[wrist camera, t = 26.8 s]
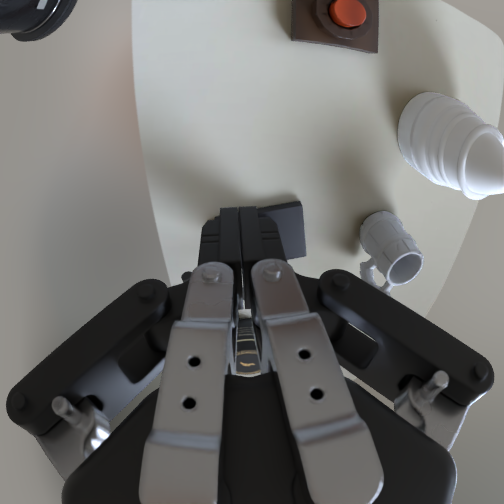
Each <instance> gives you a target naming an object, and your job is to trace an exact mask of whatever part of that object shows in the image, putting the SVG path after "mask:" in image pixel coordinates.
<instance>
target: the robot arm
mask: <svg viewBox="0 0 504 504" xmlns="http://www.w3.org/2000/svg"><path fill="white" fill-rule="evenodd" d="M61 2H62V0H0V34H4V33H31V32H34V31H36V30H38V29H39V28H41V27H42V26H44V25H45V24H46V23H47V22H48V21H49V20H50V19H51V18H52V16H53V15H54V14H55V13H56V11H57V10H58V8H59V6H60V4H61ZM239 226H240V238H239ZM200 242H201V243H200V250H199V258H198V267H196V268H195V269H194V270H193V272H192V274H191V277H190V279H189V280H188V281H186V282H184V283H182V284H179V285H176V286H172V287H169V288H167V286H166V285H165V283H163V282H162V281H160V280H157V279H146V280H143V281H140V282H138V283H136V284H135V285H134V286H132V287H131V288H130V289H128V290H127V291H126V292H125V293H123V294H122V295H121V296H120V297H118V298H117V299H116V300H114V301H113V302H112V303H111V304H109V305H108V306H107V307H106V308H104V309H103V310H102V311H101V312H99V313H98V314H97V315H96V316H95V317H93V318H92V319H91V320H90V321H89V322H87V323H86V324H85V325H84V326H82V327H81V328H80V329H79V330H78V331H76V332H75V333H74V334H73V335H72V336H71V337H69V338H68V339H67V340H66V341H65V342H63V343H62V344H61V345H60V346H59V347H58V348H56V349H55V350H54V351H53V352H52V353H51V354H50V355H48V357H46V358H45V359H44V360H43V361H42V362H41V363H39V364H38V365H37V366H36V367H35V368H34V369H33V370H32V371H31V372H29V373H28V374H27V375H26V376H25V377H24V378H23V379H22V380H21V381H20V382H18V383H17V384H16V385H15V386H14V387H13V388H12V389H11V391H10V392H9V394H8V397H7V401H6V409H7V413H8V416H9V418H10V419H11V420H12V421H13V422H14V423H16V424H17V425H19V426H20V427H22V428H23V429H25V430H27V431H28V432H29V433H30V434H32V435H33V436H34V437H35V438H36V440H37V441H38V443H39V444H40V446H41V447H42V449H43V451H44V452H45V454H46V455H47V457H48V458H49V460H50V461H51V463H52V464H53V466H54V467H55V468H56V470H57V471H58V473H59V474H60V475H61V477H62V478H63V479H64V481H65V484H64V487H63V490H62V504H451V503H452V498H453V494H454V490H455V486H456V480H457V470H456V465H455V462H454V460H453V458H452V456H451V454H450V453H449V451H450V449H451V447H452V445H453V443H454V441H455V439H456V437H457V434H458V433H459V430H460V428H461V426H462V424H463V421H464V419H465V417H466V414H467V412H468V410H469V407H470V405H471V404H473V403H474V402H475V401H477V400H478V399H479V398H480V397H481V396H483V395H484V394H485V393H486V392H487V391H489V390H490V389H491V387H492V385H493V383H494V372H493V368H492V366H491V364H490V363H489V361H488V360H487V359H486V358H485V357H483V356H482V355H480V354H479V353H477V352H476V351H474V350H473V349H471V348H470V347H468V346H467V345H465V344H464V343H462V342H461V341H459V340H458V339H456V338H455V337H453V336H452V335H450V334H449V333H447V332H446V331H444V330H442V329H441V328H439V327H438V326H436V325H435V324H433V323H432V322H430V321H428V320H427V319H425V318H424V317H422V316H420V315H419V314H417V313H416V312H414V311H413V310H411V309H409V308H408V307H406V306H404V305H403V304H401V303H400V302H398V301H396V300H395V299H393V298H391V297H390V296H388V295H387V294H385V293H383V292H382V291H380V290H378V289H377V288H375V287H373V286H372V285H370V284H368V283H367V282H365V281H363V280H362V279H360V278H358V277H357V276H355V275H353V274H352V273H350V272H348V271H345V270H340V269H333V270H328V271H326V272H324V273H323V274H322V275H321V276H320V279H316V278H310V277H305V276H302V275H299V274H297V273H295V272H294V270H293V268H292V267H291V265H289V264H288V263H287V262H286V258H285V254H284V251H283V247H282V243H281V240H280V236H279V233H278V229H277V225H276V223H275V222H274V221H273V220H272V219H271V218H270V217H261V218H258V213H257V208H256V206H248V207H239V224H238V209H237V207H229V208H220V220H208V221H207V222H206V223H205V225H204V226H203V227H202V233H201V241H200ZM240 248H241V252H240ZM241 262H242V268H241ZM242 275H243V288H244V301H245V309H251V315H252V330H253V335H254V340H255V345H256V350H257V355H258V360H259V365H260V371H261V375H258V376H254V377H243V376H237V375H236V354H237V323H238V320H239V316H238V310H240V309H243V291H242ZM348 323H350V324H352V325H353V326H355V327H356V328H358V329H359V330H361V331H362V332H364V333H365V334H367V335H368V336H370V337H371V338H373V339H374V340H375V341H376V342H375V341H374V340H372V339H371V338H369V337H368V336H366V335H365V334H363V333H362V332H360V331H359V330H357V329H356V328H354V327H353V326H351V325H350V324H348ZM340 365H341V366H342V367H343V368H345V369H346V370H348V371H349V372H350V373H352V374H353V375H355V376H356V377H357V378H359V379H360V380H362V381H363V382H364V383H366V384H367V385H369V386H370V387H372V388H373V389H374V390H376V391H377V392H379V393H380V394H382V395H383V396H385V397H386V398H387V399H389V400H390V401H392V402H393V403H394V411H395V412H394V411H393V410H391V409H390V408H389V407H387V406H386V405H385V404H383V403H382V402H381V401H379V400H378V399H377V398H375V397H374V396H373V395H371V394H370V393H369V392H367V391H366V390H365V389H364V388H362V387H361V386H360V385H358V384H357V383H355V382H354V381H352V380H350V379H349V378H346V377H344V376H343V373H342V370H341V368H340ZM162 370H163V372H162V377H161V382H160V387H159V388H158V389H156V390H155V391H153V392H152V393H151V394H149V395H148V396H147V397H146V398H145V399H144V400H143V401H142V402H141V403H140V404H139V405H138V406H137V407H136V408H135V409H134V410H133V411H132V412H131V413H130V414H129V415H128V416H127V417H126V419H124V420H123V422H122V423H121V424H120V425H119V426H118V427H117V428H116V429H115V430H114V431H113V432H112V433H111V434H110V423H109V422H110V421H111V420H112V419H113V418H114V417H115V416H116V415H117V414H118V413H119V412H120V411H121V410H122V409H123V408H125V406H127V405H128V403H130V402H131V401H132V400H133V399H134V398H135V397H136V396H137V395H138V394H139V393H140V392H141V391H142V390H143V389H144V388H145V387H146V386H147V385H148V384H149V383H150V382H151V381H152V380H153V379H154V378H155V377H156V376H157V375H158V374H159V373H160V372H161V371H162Z"/></svg>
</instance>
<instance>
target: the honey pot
mask: <svg viewBox="0 0 504 504" xmlns="http://www.w3.org/2000/svg"><path fill="white" fill-rule="evenodd" d="M398 143H399V147H400V151H401V153H402V155H403V157H404V159H405V160H406V161H407V162H408V163H409V164H410V166H412V167H413V168H415V169H416V170H417V171H419V172H420V173H421V174H423V175H424V176H425V177H427V178H428V179H429V180H431V181H432V182H434V183H436V184H438V185H442V186H447V187H451V188H453V189H456V190H462V192H463V194H464V195H466V196H467V197H468V198H470V199H474V200H478V199H483V198H485V197H486V196H488V195H489V194H500V193H504V138H503V136H502V134H501V133H500V131H499V130H498V129H497V128H496V127H494V126H492V125H490V124H486V123H485V122H484V121H483V120H482V118H481V117H479V116H478V115H477V114H476V113H475V112H473V111H472V110H471V109H470V107H469V106H468V105H466V104H465V103H463V102H461V101H459V100H457V99H454V98H451V97H449V96H445V95H442V94H439V93H436V92H424V93H421V94H418V95H417V96H415V97H414V98H412V99H411V100H410V101H409V102H408V104H407V105H406V106H405V107H404V110H403V112H402V114H401V116H400V120H399V125H398Z"/></svg>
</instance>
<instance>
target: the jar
mask: <svg viewBox="0 0 504 504" xmlns="http://www.w3.org/2000/svg"><path fill="white" fill-rule="evenodd" d="M259 372H261V371H260V365H259V360H258V355H257V350H256V345H255V340H254V335H253V330H252V319H239V320H238V323H237V354H236V374H255V373H259Z"/></svg>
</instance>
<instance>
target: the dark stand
mask: <svg viewBox="0 0 504 504" xmlns="http://www.w3.org/2000/svg"><path fill="white" fill-rule="evenodd" d="M257 213H258V218H261V217H270V218H271V219H272V220H273V221H274V222H275V223H276V225H277V229H278V233H279V236H280V240H281V243H282V247H283V251H284V254H285V258H286V262H287V260H289V259H294V258H299V257H304V256H306V245H305V232H304V220H303V208H302V204H301V202H300V201H297V202H291V203H286V204H280V205H275V206H269V207H264V208H258V209H257ZM215 220H220V216H218V217H215ZM238 224H239V212H238ZM239 238H240V226H239ZM240 252H241V248H240ZM241 268H242V262H241Z"/></svg>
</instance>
